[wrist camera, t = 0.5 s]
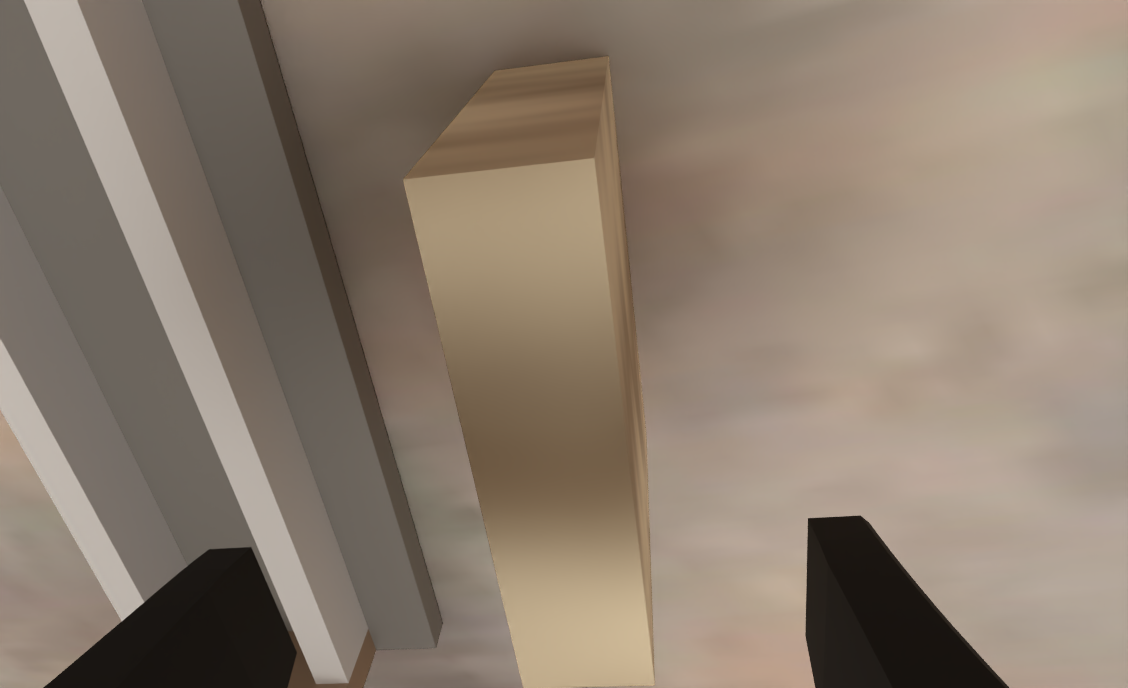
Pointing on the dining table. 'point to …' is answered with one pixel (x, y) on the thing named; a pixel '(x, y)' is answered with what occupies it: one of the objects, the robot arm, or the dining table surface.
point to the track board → (192, 325)
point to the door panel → (546, 363)
